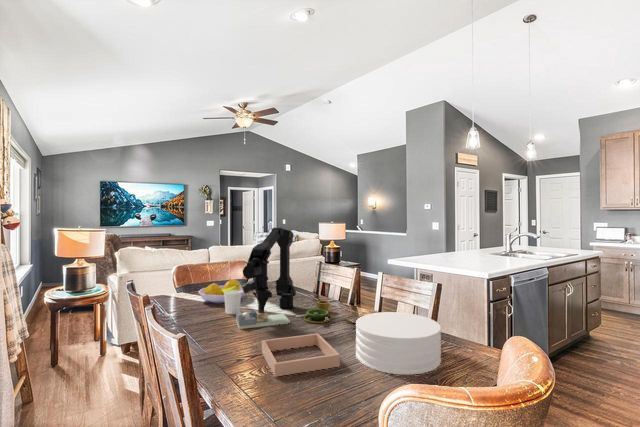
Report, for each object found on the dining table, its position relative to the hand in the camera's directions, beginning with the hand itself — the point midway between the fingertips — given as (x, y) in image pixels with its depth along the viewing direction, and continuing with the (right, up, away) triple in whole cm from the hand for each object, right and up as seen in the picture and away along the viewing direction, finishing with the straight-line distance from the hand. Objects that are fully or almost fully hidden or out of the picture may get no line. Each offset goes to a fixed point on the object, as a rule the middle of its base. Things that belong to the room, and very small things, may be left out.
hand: (261, 309), depth 160 cm
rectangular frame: (+19, -6, -40) cm, 45 cm away
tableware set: (+37, -6, 0) cm, 37 cm away
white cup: (-16, -6, +15) cm, 23 cm away
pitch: (+1, -6, 0) cm, 6 cm away
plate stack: (+52, -6, -38) cm, 65 cm away
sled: (-1, -4, 0) cm, 4 cm away
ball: (-6, -3, -2) cm, 7 cm away
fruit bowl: (-27, -6, +39) cm, 48 cm away
